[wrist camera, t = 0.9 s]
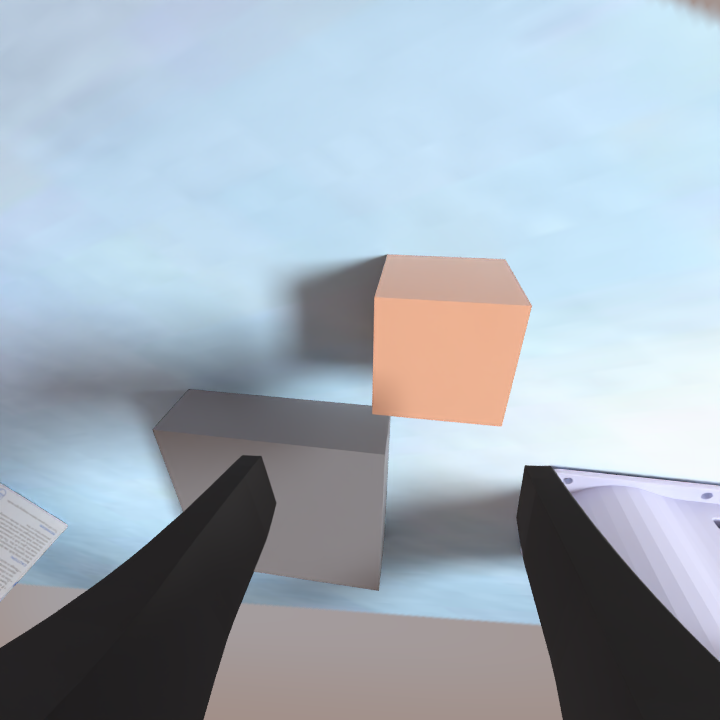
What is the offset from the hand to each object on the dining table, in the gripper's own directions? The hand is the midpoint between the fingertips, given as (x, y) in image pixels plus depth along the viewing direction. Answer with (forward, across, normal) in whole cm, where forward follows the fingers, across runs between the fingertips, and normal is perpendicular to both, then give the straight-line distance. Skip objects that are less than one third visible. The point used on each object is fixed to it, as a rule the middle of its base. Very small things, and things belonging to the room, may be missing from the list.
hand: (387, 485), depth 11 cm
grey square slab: (+10, +8, +10) cm, 16 cm away
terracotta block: (+10, -2, -1) cm, 10 cm away
